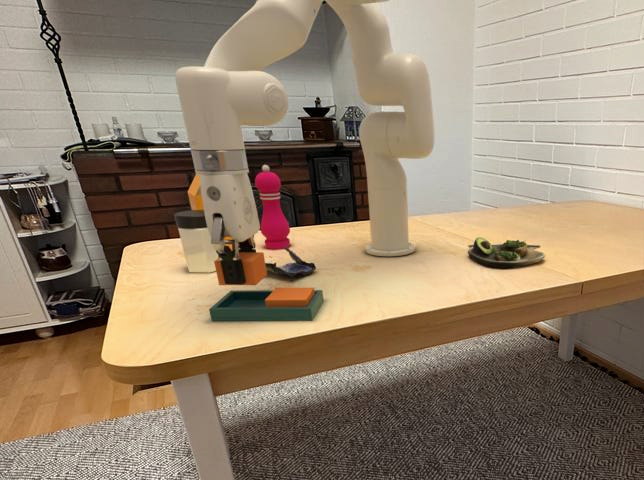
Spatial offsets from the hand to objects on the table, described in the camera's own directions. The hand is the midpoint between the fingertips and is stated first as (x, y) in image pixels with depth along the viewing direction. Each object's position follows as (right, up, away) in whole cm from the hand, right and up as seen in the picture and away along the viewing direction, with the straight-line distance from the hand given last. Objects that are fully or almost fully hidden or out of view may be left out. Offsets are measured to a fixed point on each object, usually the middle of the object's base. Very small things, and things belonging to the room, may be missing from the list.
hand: (242, 276), depth 79 cm
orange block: (0, -1, 0) cm, 1 cm away
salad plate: (+48, +10, +35) cm, 61 cm away
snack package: (0, +4, +23) cm, 23 cm away
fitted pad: (+7, -5, +3) cm, 10 cm away
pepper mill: (-10, +16, +45) cm, 48 cm away
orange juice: (-22, +12, +38) cm, 45 cm away
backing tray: (+4, -5, +3) cm, 7 cm away
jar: (-19, +7, +26) cm, 33 cm away
